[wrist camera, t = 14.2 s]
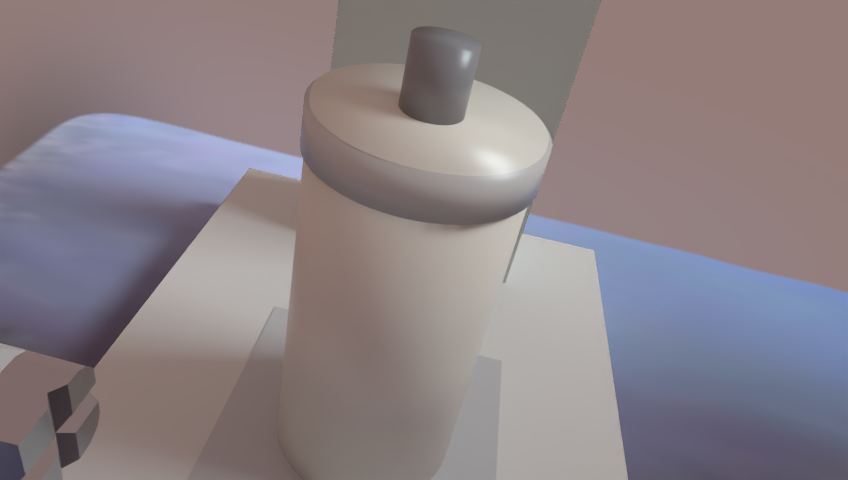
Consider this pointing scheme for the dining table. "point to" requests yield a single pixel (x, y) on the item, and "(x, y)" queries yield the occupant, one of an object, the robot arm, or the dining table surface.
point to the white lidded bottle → (399, 255)
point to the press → (270, 293)
